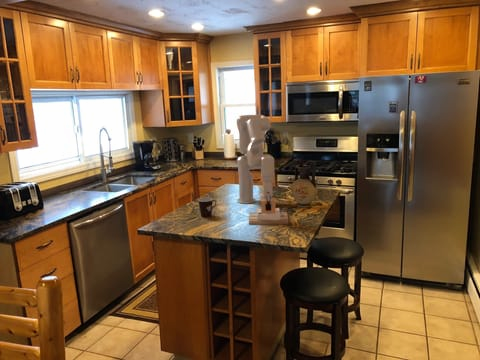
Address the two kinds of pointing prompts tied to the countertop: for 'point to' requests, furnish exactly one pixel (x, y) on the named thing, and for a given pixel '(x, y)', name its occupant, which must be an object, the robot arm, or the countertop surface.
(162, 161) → the countertop surface
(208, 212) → the coffee mug
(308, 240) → the countertop surface
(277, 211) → the socket
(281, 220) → the board
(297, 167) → the amphora
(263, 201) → the orange block
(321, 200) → the countertop surface
